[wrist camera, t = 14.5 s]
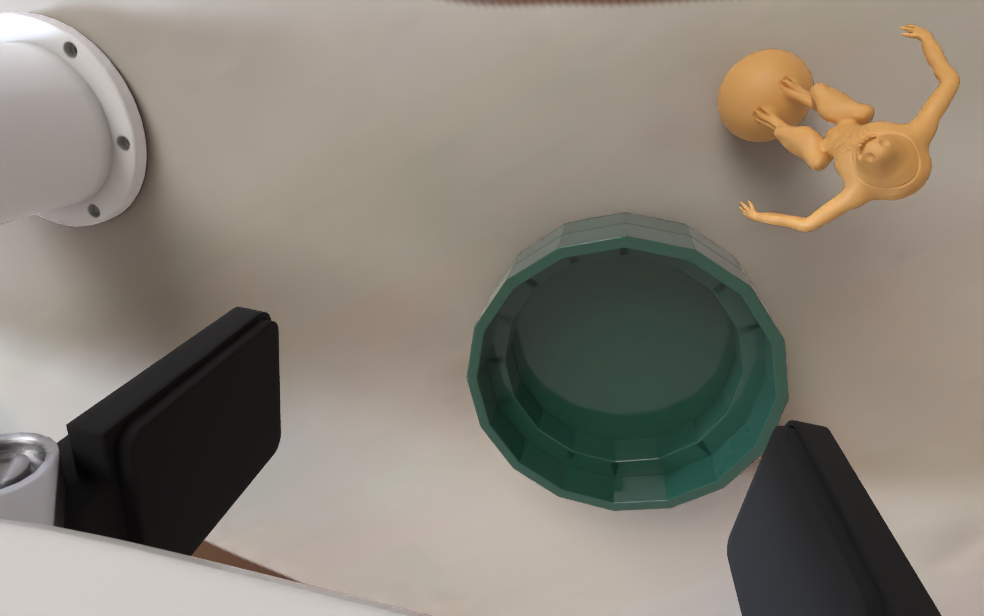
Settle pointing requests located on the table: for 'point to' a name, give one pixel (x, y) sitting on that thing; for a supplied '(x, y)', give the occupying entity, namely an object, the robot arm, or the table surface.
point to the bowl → (627, 364)
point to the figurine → (834, 129)
